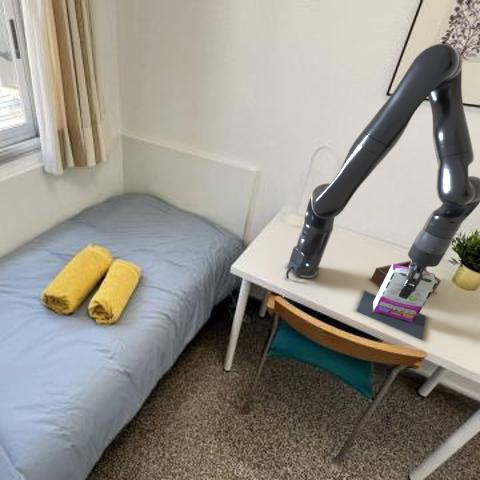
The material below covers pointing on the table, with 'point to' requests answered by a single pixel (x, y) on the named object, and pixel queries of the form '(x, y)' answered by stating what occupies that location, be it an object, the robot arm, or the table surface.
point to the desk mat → (407, 327)
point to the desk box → (383, 271)
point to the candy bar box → (395, 305)
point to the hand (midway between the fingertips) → (404, 290)
